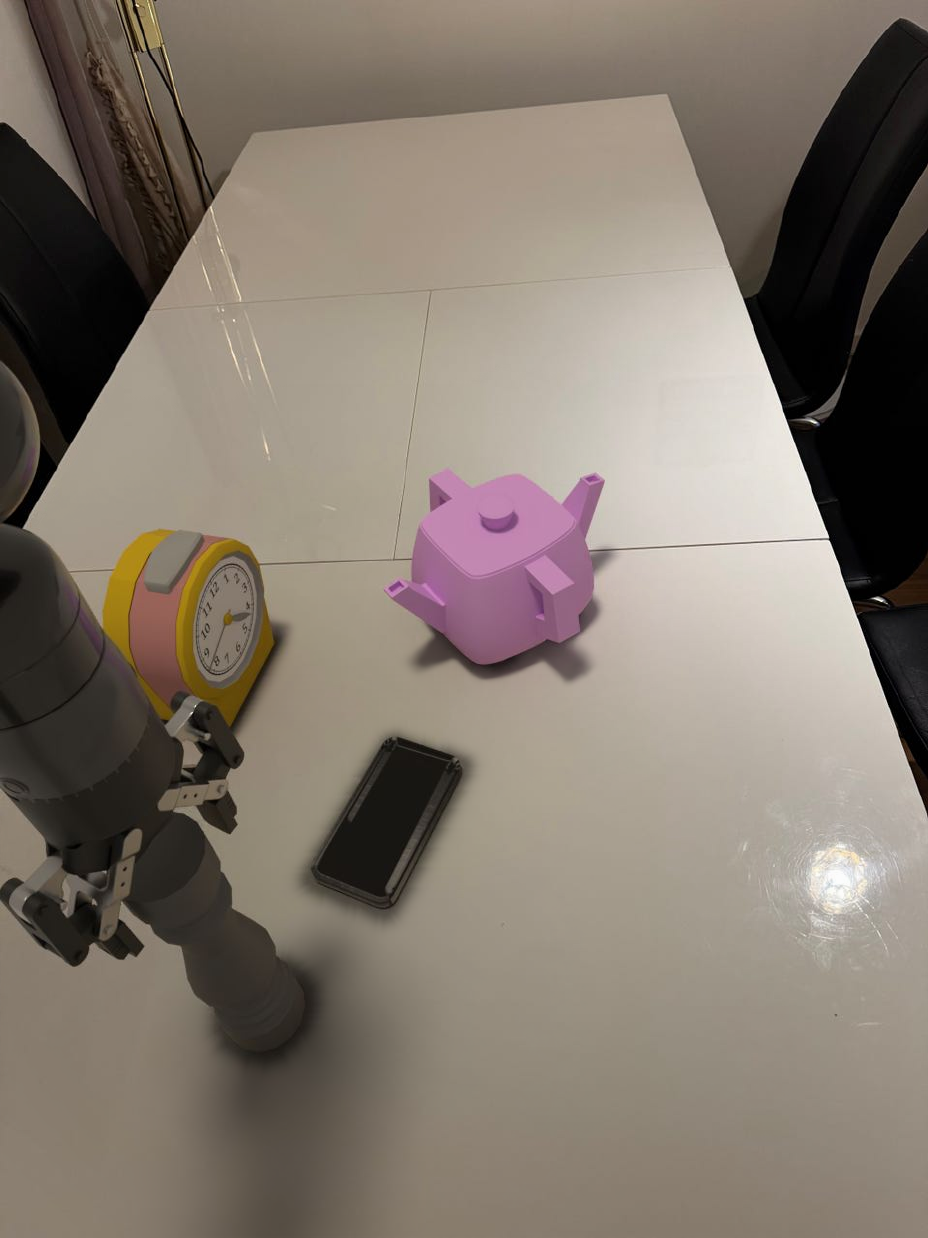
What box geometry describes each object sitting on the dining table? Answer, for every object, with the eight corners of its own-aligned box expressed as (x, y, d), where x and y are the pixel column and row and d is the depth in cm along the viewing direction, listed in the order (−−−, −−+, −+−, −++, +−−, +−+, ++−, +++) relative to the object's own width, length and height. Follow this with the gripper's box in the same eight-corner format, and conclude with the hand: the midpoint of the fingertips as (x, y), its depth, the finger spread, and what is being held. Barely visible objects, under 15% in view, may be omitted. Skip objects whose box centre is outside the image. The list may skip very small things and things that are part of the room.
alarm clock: (226, 747, 87) (162, 619, 73) (150, 732, 89) (74, 605, 75) (287, 631, 96) (240, 498, 83) (217, 620, 98) (160, 488, 85)
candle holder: (300, 1050, 68) (199, 905, 50) (219, 1053, 69) (88, 910, 50) (309, 967, 72) (219, 804, 54) (232, 970, 73) (116, 810, 54)
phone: (464, 759, 82) (387, 906, 74) (465, 766, 83) (389, 912, 75) (387, 733, 85) (304, 872, 76) (389, 740, 86) (307, 878, 77)
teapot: (398, 677, 91) (374, 570, 80) (429, 549, 103) (412, 440, 92) (593, 689, 88) (596, 580, 77) (602, 556, 100) (606, 445, 89)
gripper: (113, 598, 48) (205, 767, 60) (-114, 816, 40) (45, 960, 52) (224, 644, 45) (297, 812, 57) (4, 888, 37) (143, 1024, 49)
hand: (177, 883), depth 54 cm, fingers open, 8 cm apart
